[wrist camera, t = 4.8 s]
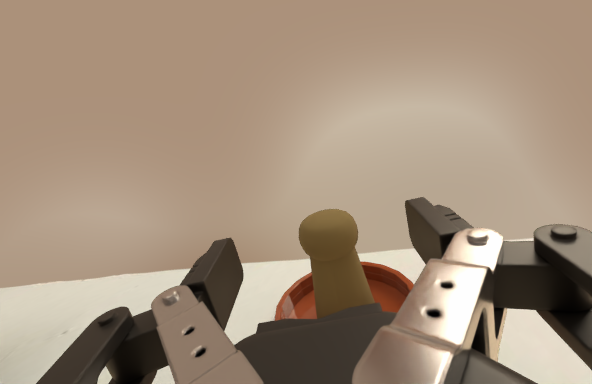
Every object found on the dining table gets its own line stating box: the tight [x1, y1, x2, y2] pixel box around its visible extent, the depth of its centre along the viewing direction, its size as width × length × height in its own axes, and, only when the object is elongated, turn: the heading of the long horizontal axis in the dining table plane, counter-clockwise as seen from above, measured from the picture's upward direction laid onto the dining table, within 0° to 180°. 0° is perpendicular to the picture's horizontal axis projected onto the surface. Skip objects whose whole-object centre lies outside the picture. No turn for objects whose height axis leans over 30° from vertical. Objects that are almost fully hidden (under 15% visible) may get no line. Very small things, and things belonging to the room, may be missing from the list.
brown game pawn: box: [299, 209, 375, 319], centre depth 27 cm, size 6×6×11 cm
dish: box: [275, 262, 414, 321], centre depth 29 cm, size 14×14×2 cm
